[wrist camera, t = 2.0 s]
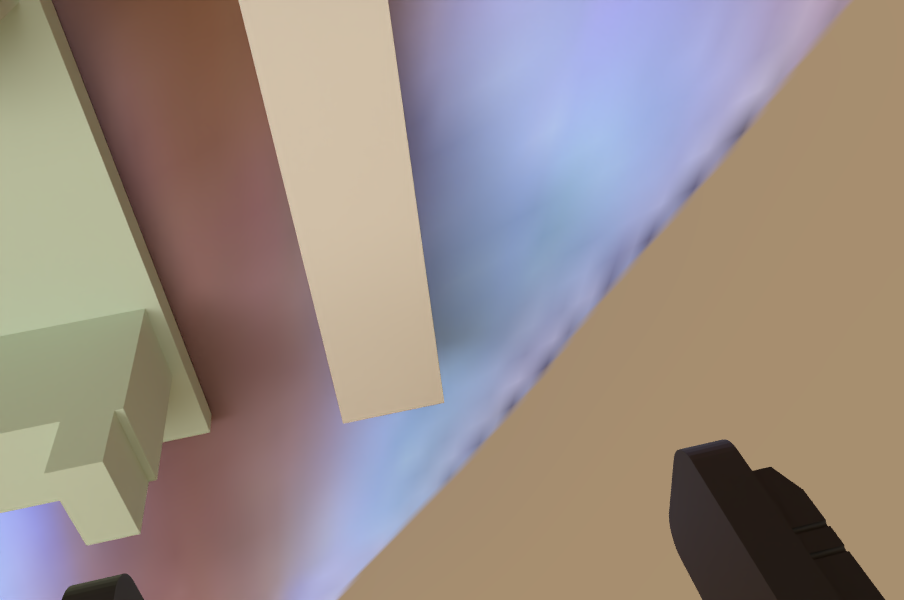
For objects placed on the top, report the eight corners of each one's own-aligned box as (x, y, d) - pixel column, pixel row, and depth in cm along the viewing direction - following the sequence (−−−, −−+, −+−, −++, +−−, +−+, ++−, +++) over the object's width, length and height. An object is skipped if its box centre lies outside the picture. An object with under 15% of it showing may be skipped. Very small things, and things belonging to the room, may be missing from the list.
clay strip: (202, -211, 20) (188, -203, 16) (340, -228, 20) (356, -223, 17) (333, 343, 30) (343, 423, 27) (422, 325, 31) (444, 402, 27)
